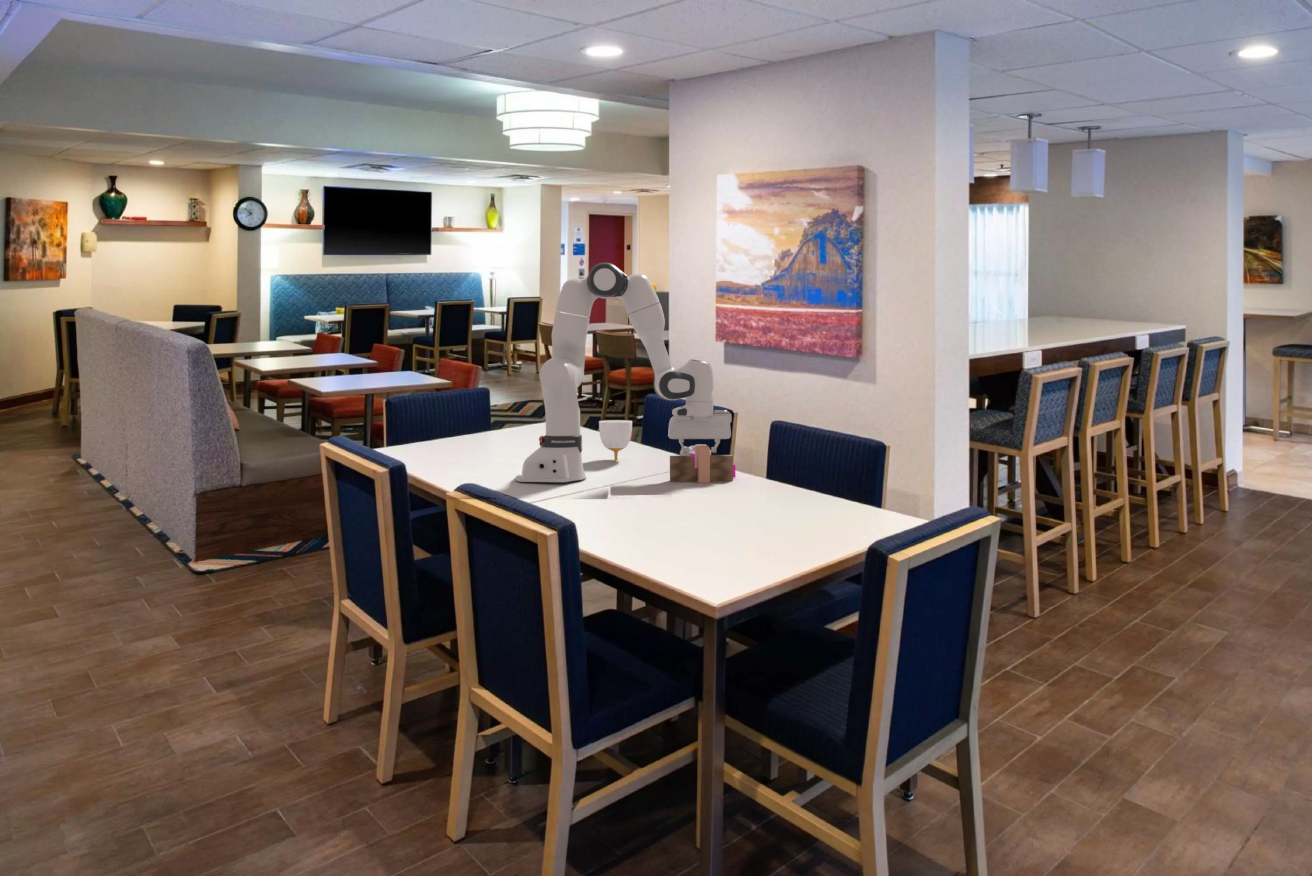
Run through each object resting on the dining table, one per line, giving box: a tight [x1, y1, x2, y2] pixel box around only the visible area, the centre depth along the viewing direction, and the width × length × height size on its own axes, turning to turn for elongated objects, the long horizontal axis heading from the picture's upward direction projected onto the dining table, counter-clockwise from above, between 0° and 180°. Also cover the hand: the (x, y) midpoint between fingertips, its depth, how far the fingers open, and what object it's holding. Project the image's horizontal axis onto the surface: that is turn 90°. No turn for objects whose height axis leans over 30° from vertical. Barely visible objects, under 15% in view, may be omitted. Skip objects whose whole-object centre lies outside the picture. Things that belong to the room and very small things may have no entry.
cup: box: [598, 419, 633, 461], centre depth 341 cm, size 12×12×17 cm
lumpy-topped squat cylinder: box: [679, 445, 712, 456], centre depth 336 cm, size 10×13×9 cm
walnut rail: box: [669, 454, 734, 482], centre depth 310 cm, size 20×2×8 cm, turn 93°
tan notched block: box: [694, 444, 711, 484], centre depth 311 cm, size 4×12×11 cm, turn 3°
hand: (699, 452), depth 314 cm, fingers open, 8 cm apart
